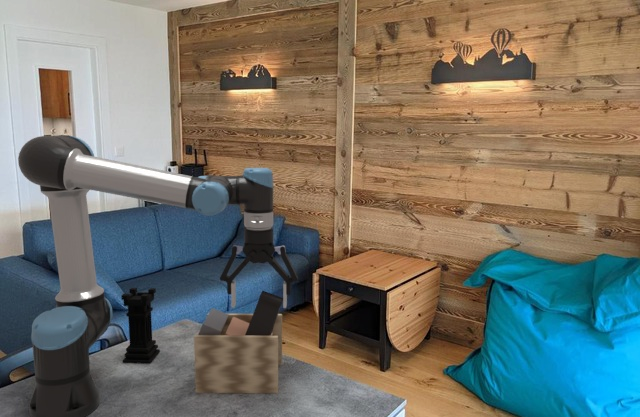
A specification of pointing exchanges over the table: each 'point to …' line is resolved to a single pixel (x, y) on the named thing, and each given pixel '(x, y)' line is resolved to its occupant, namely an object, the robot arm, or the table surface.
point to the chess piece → (140, 327)
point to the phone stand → (264, 315)
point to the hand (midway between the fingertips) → (259, 306)
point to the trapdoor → (222, 324)
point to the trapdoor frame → (238, 360)
